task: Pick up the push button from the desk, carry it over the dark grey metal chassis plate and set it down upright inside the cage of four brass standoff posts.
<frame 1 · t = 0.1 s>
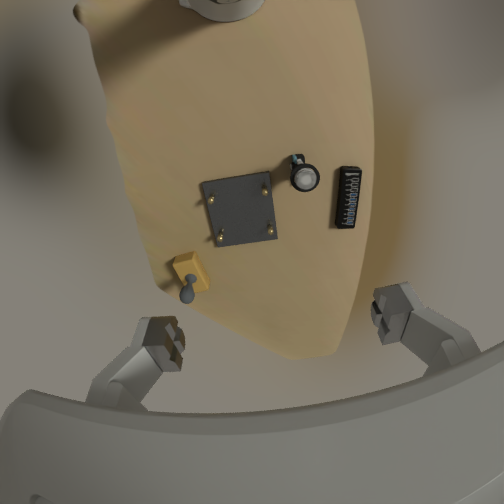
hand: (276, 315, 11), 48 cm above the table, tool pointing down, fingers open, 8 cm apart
multiport hub: (346, 195, 59), on the table
chassis: (241, 210, 60), on the table
rubber stamp: (193, 268, 69), on the table
push button: (296, 167, 55), on the table
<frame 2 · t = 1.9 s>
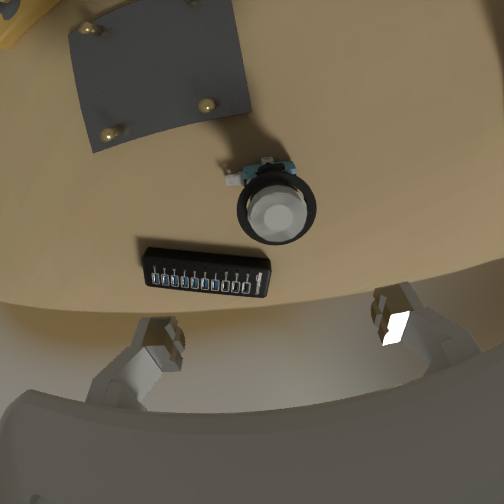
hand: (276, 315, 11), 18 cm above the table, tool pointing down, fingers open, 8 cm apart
multiport hub: (207, 265, 33), on the table
chassis: (152, 61, 19), on the table
rubber stamp: (32, 10, 12), on the table
push button: (261, 171, 26), on the table
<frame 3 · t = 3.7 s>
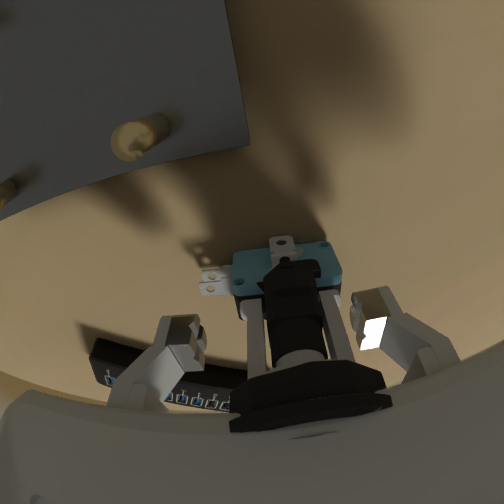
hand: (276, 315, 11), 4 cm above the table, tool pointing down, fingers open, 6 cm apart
multiport hub: (186, 368, 20), on the table
chassis: (52, 52, 7), on the table
push button: (269, 259, 14), on the table, touching gripper
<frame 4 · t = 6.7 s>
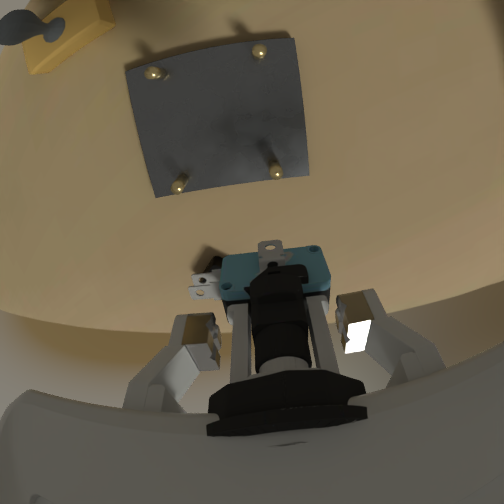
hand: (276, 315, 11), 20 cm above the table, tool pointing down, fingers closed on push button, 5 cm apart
chassis: (218, 116, 24), on the table
rubber stamp: (75, 32, 17), on the table
push button: (259, 263, 14), point 16 cm above the table, touching gripper
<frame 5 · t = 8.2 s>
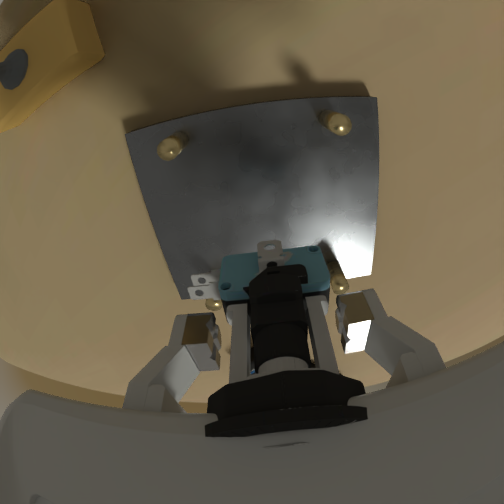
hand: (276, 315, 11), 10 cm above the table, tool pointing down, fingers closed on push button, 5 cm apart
chassis: (264, 203, 19), on the table
rubber stamp: (48, 65, 12), on the table
push button: (258, 263, 14), point 6 cm above the table, touching gripper
when the fingers open (6 cm above the table, at t = 9.5 s): push button drops 1 cm, resting on chassis.
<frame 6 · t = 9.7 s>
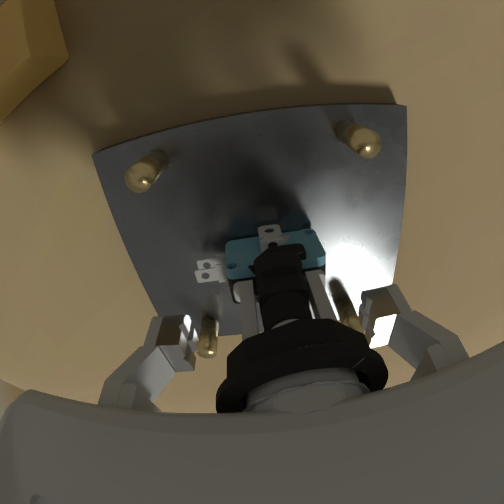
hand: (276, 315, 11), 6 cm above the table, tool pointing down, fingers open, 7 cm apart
chassis: (265, 236, 16), on the table
rubber stamp: (11, 72, 9), on the table
push button: (258, 248, 15), point 1 cm above the table, touching chassis
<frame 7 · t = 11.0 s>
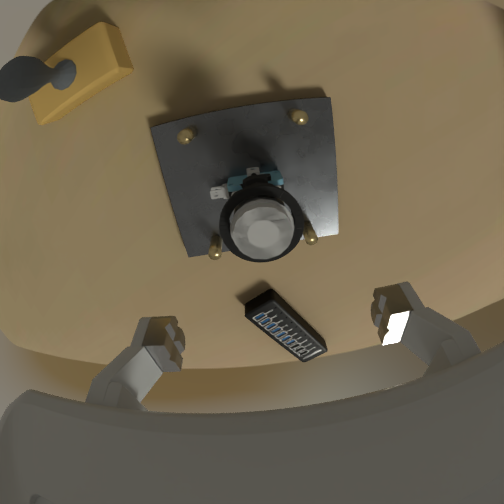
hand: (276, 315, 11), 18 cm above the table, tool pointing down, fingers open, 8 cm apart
multiport hub: (288, 322, 38), on the table
chassis: (252, 178, 26), on the table
rubber stamp: (85, 73, 18), on the table
push button: (247, 182, 25), point 1 cm above the table, touching chassis
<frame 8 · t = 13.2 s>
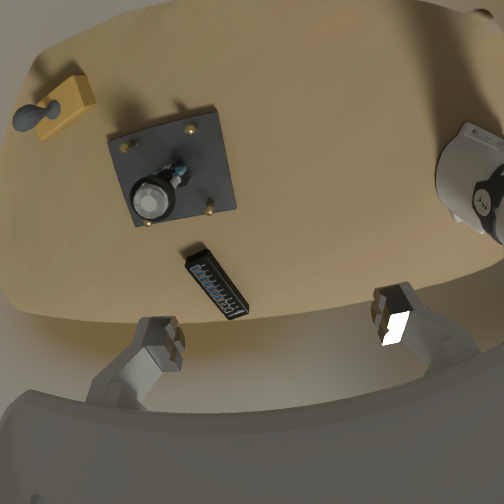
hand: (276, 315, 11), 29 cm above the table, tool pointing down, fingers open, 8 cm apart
multiport hub: (219, 281, 48), on the table
chassis: (171, 171, 36), on the table
rubber stamp: (68, 105, 29), on the table
push button: (167, 174, 36), point 1 cm above the table, touching chassis
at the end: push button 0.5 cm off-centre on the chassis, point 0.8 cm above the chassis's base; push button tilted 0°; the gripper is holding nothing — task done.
